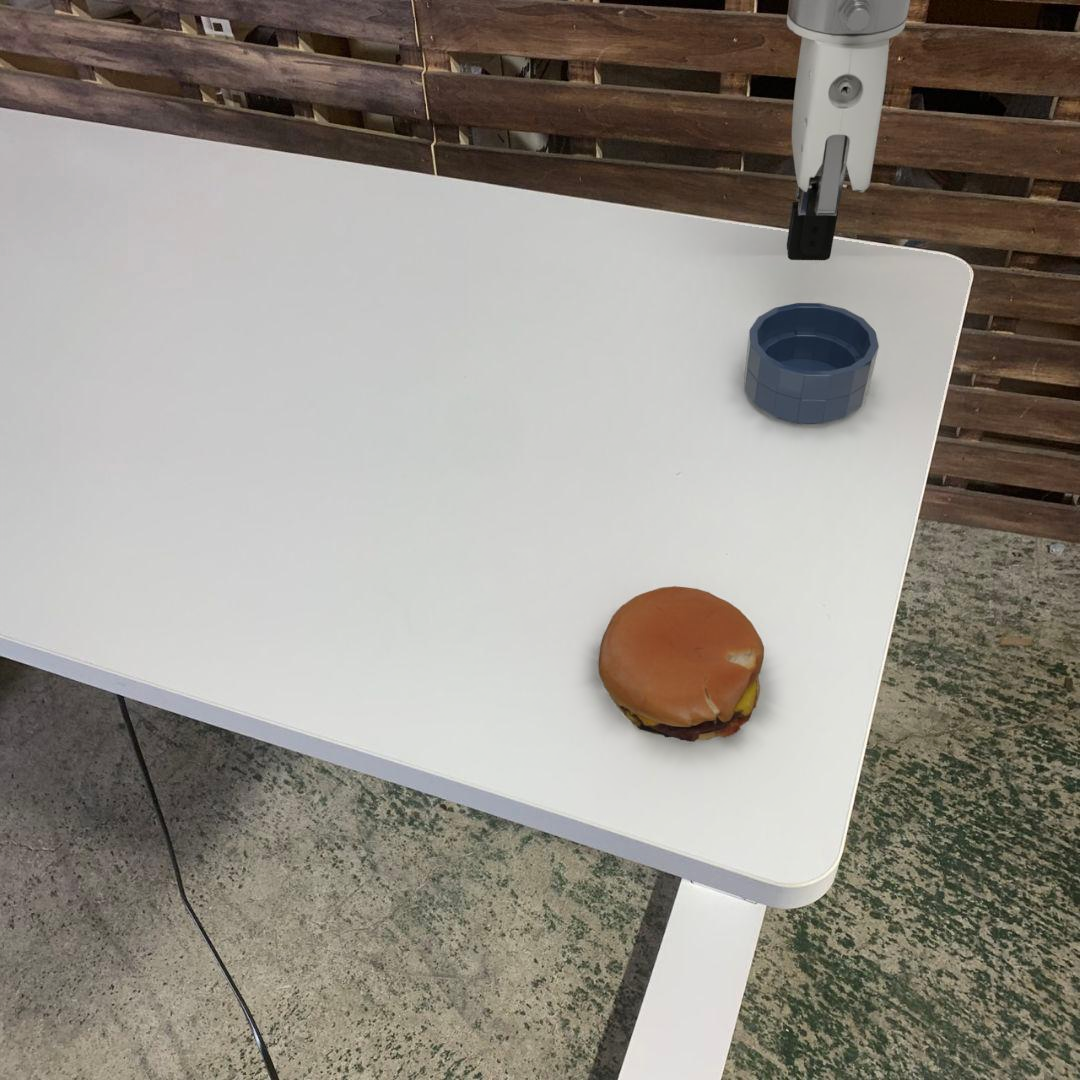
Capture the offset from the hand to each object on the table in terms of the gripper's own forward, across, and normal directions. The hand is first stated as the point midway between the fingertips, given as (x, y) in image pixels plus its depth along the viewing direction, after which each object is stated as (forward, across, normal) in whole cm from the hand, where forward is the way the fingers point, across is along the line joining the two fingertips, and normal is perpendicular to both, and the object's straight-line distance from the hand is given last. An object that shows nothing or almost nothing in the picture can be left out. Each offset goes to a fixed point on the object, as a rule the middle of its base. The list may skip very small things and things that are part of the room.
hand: (807, 254), depth 76 cm
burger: (+7, -36, +9) cm, 38 cm away
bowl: (+7, -8, 0) cm, 11 cm away
